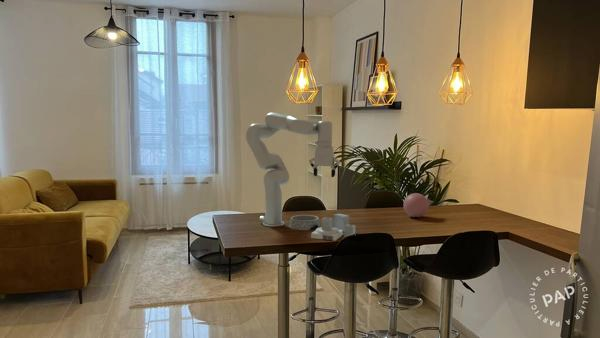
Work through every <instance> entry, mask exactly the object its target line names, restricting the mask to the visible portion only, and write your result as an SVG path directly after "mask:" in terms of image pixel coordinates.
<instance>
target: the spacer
mask: <svg viewBox="0 0 600 338" xmlns="http://www.w3.org/2000/svg"><path fill="white" fill-rule="evenodd" d="M353 234H355V235H356V225H355V224H350V223H349V224H347V225H346V226H345V232H344V234H343V235H344V238H345V237H346V236H349V235H353Z"/></svg>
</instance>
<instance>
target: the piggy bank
mask: <svg viewBox="0 0 600 338" xmlns="http://www.w3.org/2000/svg"><path fill="white" fill-rule="evenodd" d="M432 204H434V201H433V200H430V199H429V198H426V196H424V194H421V193H418V192H414V193H410V194H409V195H407V196H406V197H405V199H404V201H403V205H402V206H403V210H404V212H405V213H406V215H408V216H409V217H411V218H415V217H418V218H421V217H423V216H425V215H426V214H427V212H428V210H429V208H430V207H429V206H431V205H432Z"/></svg>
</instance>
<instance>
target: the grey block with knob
mask: <svg viewBox="0 0 600 338" xmlns="http://www.w3.org/2000/svg"><path fill="white" fill-rule="evenodd" d="M321 227H322V230H324V231H331V230H332V229H333V228H334V217H328V216H325V217H322V218H321Z"/></svg>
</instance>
